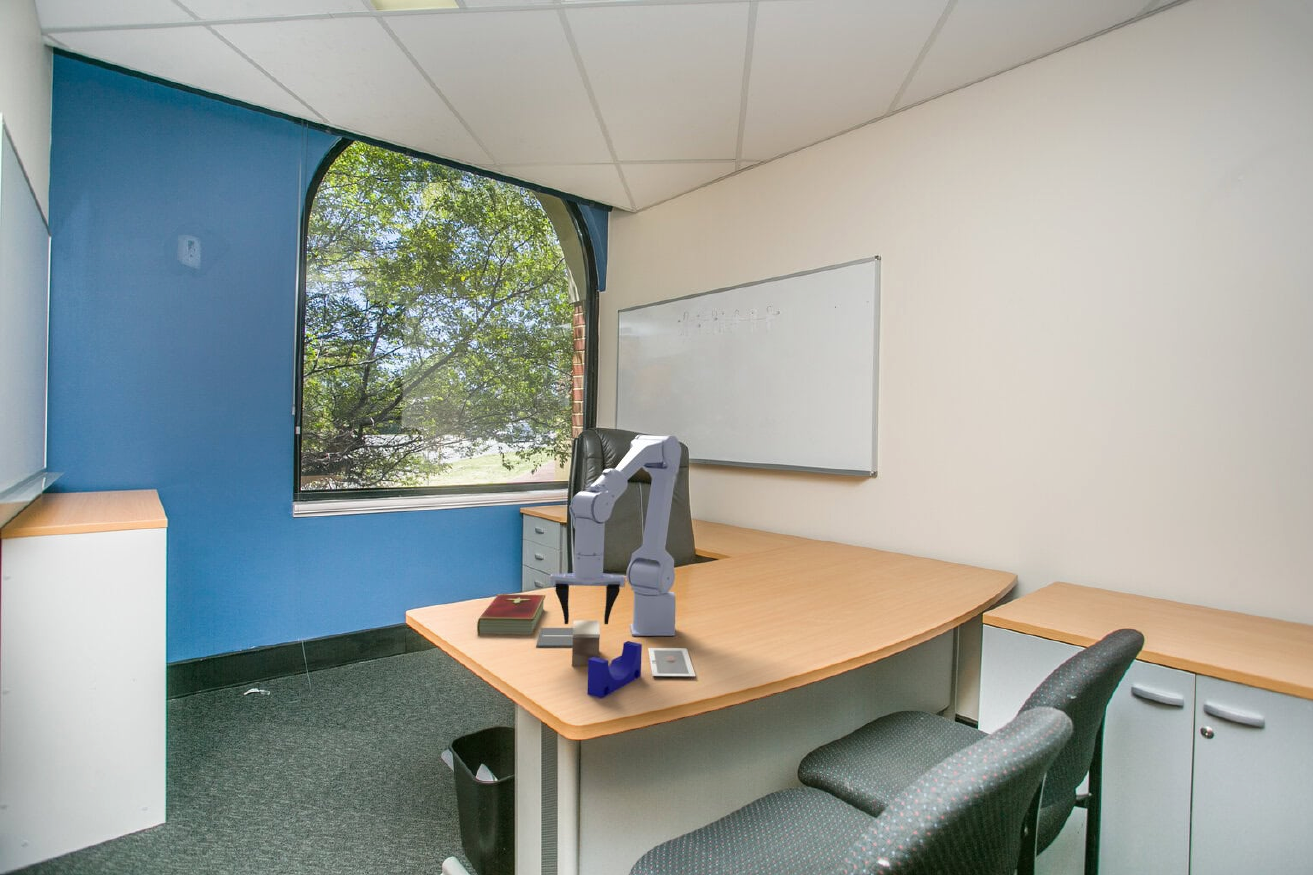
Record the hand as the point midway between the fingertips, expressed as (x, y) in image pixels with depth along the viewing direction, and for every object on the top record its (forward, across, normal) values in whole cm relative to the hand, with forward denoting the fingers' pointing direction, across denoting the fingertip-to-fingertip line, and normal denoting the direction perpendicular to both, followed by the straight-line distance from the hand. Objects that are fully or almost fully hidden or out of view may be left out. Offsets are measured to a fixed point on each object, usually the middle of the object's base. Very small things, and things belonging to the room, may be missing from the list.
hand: (586, 622), depth 122 cm
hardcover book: (+7, -17, +25) cm, 31 cm away
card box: (+7, 0, 0) cm, 7 cm away
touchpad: (+7, +16, -4) cm, 18 cm away
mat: (+7, -4, +12) cm, 14 cm away
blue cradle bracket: (+7, +5, -13) cm, 16 cm away
